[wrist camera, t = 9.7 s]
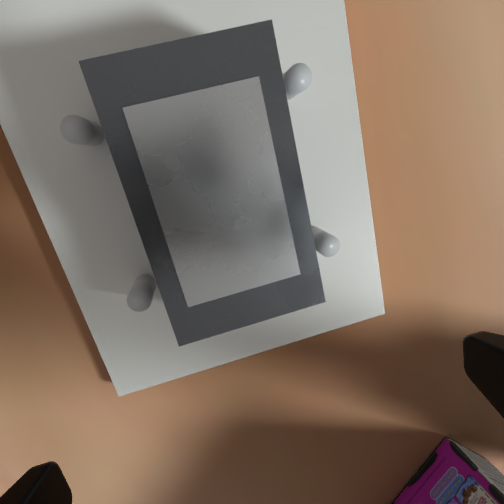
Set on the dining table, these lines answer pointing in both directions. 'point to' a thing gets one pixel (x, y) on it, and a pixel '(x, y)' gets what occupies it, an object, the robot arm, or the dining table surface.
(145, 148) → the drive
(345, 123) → the tray
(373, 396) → the dining table surface
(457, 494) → the candy bar box
